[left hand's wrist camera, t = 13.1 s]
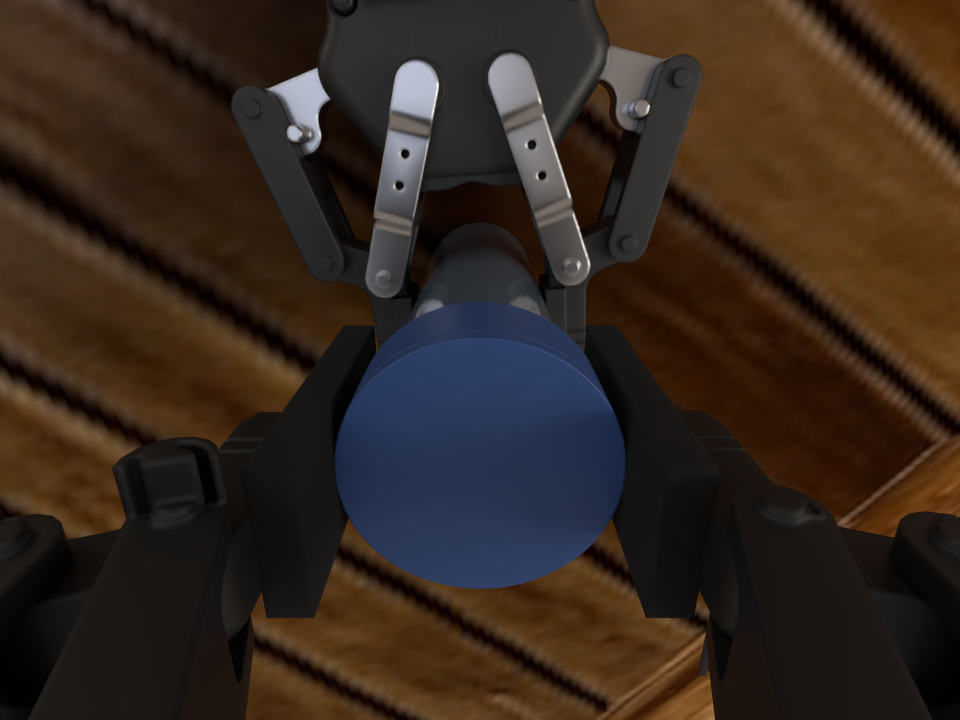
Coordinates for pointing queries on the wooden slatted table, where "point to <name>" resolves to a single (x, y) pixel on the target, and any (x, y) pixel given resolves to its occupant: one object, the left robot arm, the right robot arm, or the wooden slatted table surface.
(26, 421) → the wooden slatted table surface
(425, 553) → the lid
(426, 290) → the jar
